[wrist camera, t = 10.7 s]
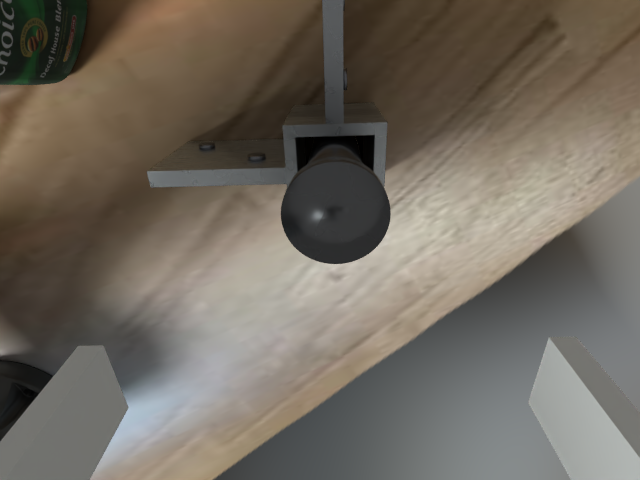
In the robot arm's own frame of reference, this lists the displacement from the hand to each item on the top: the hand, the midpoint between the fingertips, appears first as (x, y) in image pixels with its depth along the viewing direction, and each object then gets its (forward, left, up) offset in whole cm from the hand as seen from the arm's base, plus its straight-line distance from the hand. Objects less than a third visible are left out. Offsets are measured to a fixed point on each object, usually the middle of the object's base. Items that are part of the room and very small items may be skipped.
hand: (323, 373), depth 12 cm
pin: (+1, +1, -27) cm, 27 cm away
